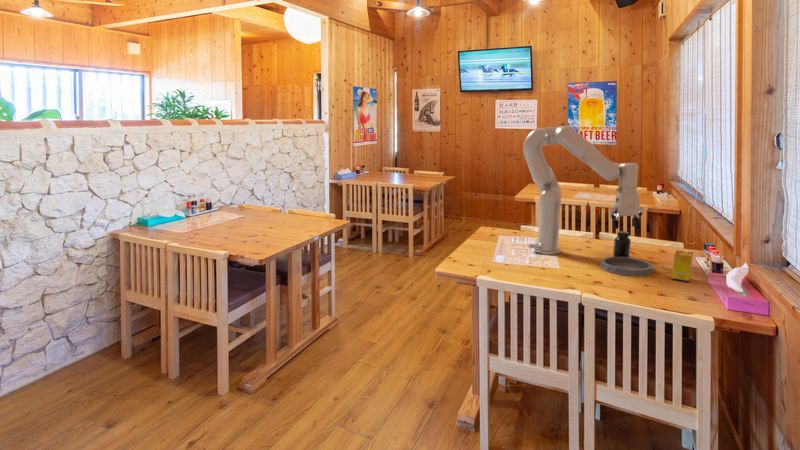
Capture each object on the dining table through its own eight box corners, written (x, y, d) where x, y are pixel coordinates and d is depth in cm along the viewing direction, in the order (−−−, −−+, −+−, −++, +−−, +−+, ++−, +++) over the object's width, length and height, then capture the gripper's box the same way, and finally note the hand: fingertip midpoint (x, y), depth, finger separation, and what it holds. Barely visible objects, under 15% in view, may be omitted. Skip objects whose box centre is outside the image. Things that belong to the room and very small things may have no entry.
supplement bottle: (631, 259, 211) (633, 234, 208) (615, 259, 212) (617, 233, 209) (626, 255, 217) (629, 230, 215) (611, 254, 219) (613, 230, 216)
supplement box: (672, 276, 187) (675, 250, 185) (690, 278, 184) (693, 252, 182) (671, 280, 183) (674, 253, 180) (689, 282, 179) (692, 255, 177)
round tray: (619, 277, 186) (620, 271, 186) (591, 263, 206) (591, 258, 205) (663, 274, 190) (664, 268, 189) (631, 260, 209) (631, 255, 208)
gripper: (615, 192, 203) (613, 230, 206) (650, 190, 206) (647, 227, 209) (605, 190, 210) (603, 227, 214) (639, 188, 213) (636, 224, 216)
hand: (625, 227), depth 211 cm, fingers open, 9 cm apart
